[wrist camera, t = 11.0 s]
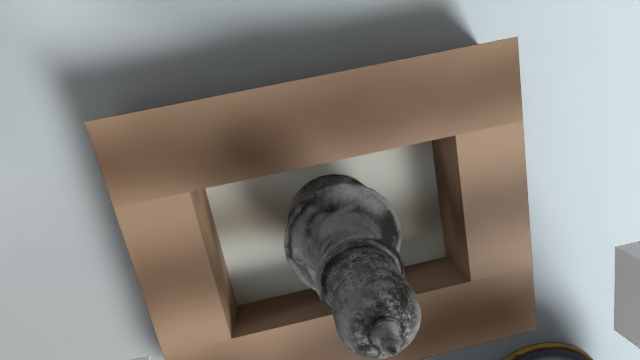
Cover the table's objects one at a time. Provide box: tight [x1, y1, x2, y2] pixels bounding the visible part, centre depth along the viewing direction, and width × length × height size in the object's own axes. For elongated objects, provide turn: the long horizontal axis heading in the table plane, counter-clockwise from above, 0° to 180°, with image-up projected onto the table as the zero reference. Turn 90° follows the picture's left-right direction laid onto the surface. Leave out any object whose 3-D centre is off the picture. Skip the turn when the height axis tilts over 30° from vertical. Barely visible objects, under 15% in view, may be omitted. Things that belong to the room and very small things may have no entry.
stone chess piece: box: [284, 174, 421, 359], centre depth 17 cm, size 6×6×12 cm
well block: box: [84, 37, 536, 360], centre depth 21 cm, size 16×20×4 cm
